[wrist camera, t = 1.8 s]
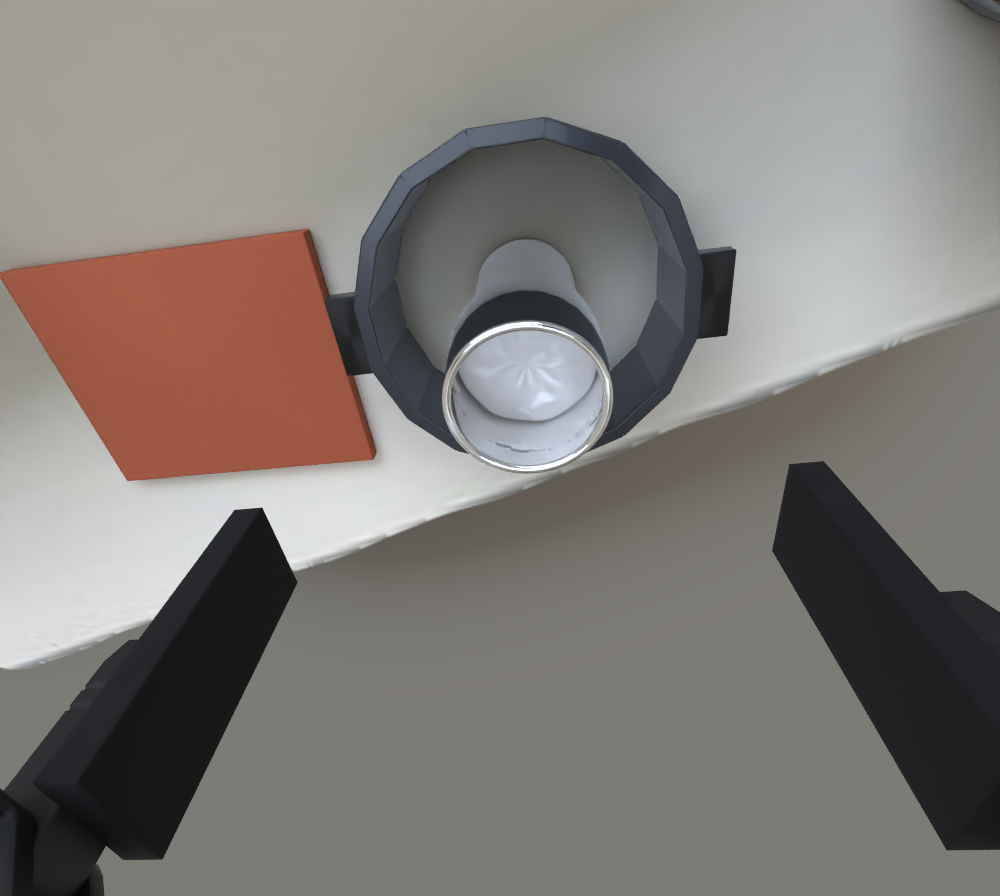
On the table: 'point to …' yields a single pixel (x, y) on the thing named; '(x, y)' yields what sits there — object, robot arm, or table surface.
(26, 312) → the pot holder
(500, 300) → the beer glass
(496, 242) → the table surface
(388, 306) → the pot
